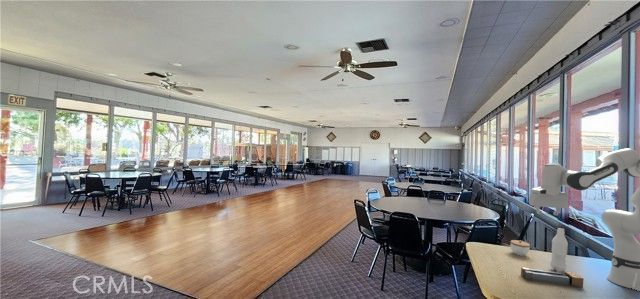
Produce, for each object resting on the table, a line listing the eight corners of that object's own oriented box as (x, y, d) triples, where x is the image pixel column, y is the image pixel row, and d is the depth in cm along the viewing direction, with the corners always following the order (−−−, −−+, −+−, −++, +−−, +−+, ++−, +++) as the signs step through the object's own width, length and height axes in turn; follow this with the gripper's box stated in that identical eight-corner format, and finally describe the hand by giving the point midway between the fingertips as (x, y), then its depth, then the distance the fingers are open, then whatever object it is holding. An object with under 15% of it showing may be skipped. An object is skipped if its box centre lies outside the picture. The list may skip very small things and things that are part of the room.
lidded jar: (506, 250, 197) (507, 237, 197) (520, 251, 198) (521, 237, 197) (517, 257, 186) (518, 243, 186) (533, 257, 187) (534, 243, 187)
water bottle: (568, 274, 164) (572, 231, 163) (554, 272, 165) (557, 230, 164) (560, 268, 171) (564, 227, 170) (547, 267, 172) (550, 226, 171)
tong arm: (564, 280, 156) (565, 272, 155) (567, 282, 153) (568, 274, 153) (520, 274, 160) (521, 267, 160) (522, 276, 158) (523, 269, 158)
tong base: (574, 281, 155) (574, 272, 155) (582, 287, 148) (583, 278, 148) (520, 274, 161) (520, 265, 161) (526, 280, 154) (527, 271, 154)
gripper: (563, 191, 169) (561, 214, 169) (528, 188, 169) (525, 211, 170) (572, 193, 162) (570, 217, 163) (535, 190, 163) (533, 214, 164)
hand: (547, 214), depth 166 cm, fingers open, 8 cm apart
